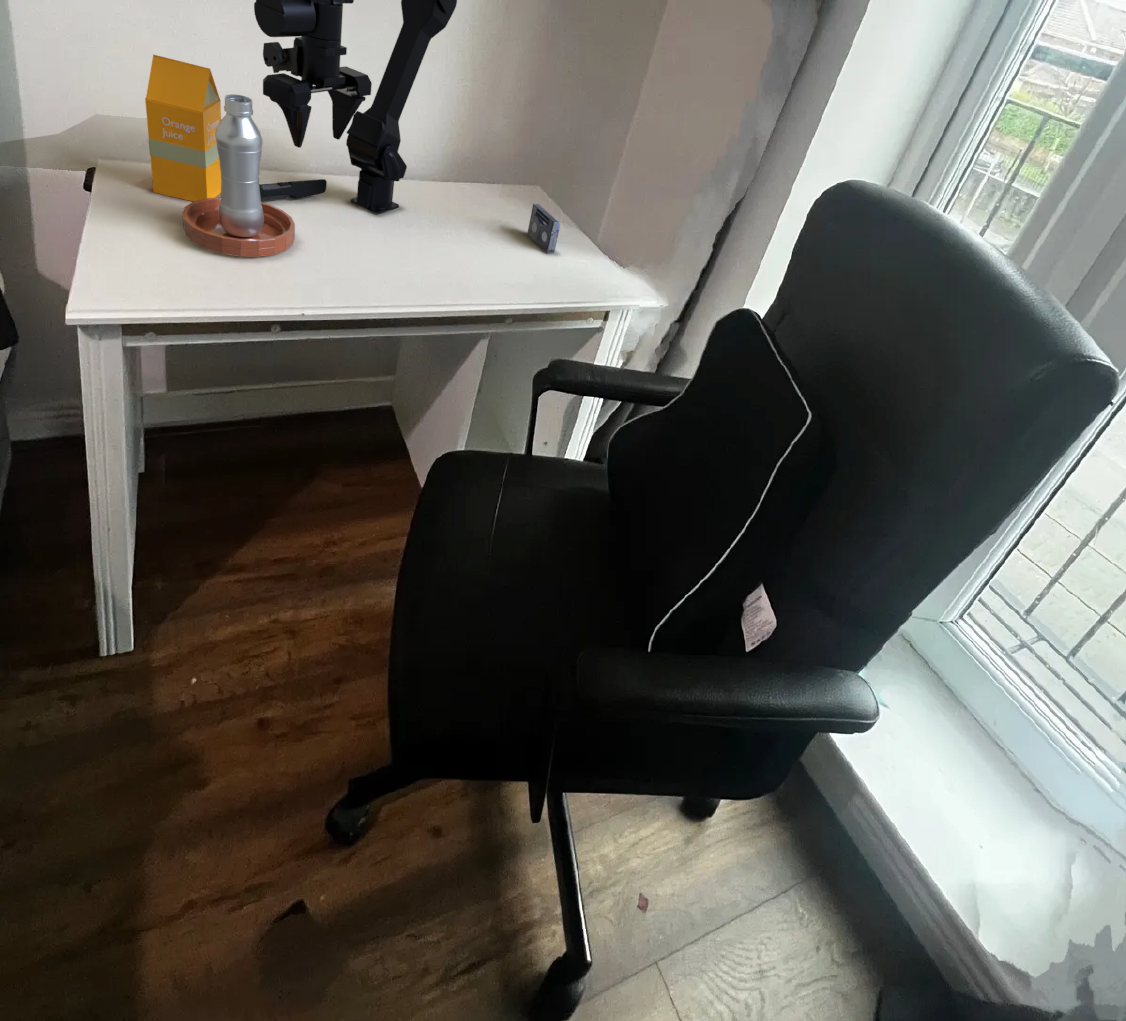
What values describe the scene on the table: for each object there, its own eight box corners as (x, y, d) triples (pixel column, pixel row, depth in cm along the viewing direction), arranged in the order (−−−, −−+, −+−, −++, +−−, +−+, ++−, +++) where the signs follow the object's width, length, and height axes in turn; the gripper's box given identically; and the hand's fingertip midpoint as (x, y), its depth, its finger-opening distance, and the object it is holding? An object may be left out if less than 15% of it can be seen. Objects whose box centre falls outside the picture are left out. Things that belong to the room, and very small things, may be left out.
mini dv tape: (554, 253, 153) (561, 222, 149) (547, 253, 152) (553, 222, 148) (533, 234, 158) (540, 203, 154) (527, 234, 157) (533, 203, 153)
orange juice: (207, 205, 135) (201, 74, 123) (152, 192, 134) (140, 59, 122) (224, 189, 141) (220, 63, 129) (172, 177, 140) (162, 49, 128)
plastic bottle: (271, 240, 130) (271, 106, 117) (229, 243, 126) (225, 105, 113) (253, 223, 133) (251, 91, 121) (211, 226, 129) (205, 90, 116)
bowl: (239, 207, 137) (239, 189, 136) (315, 243, 134) (316, 225, 132) (159, 229, 125) (158, 209, 123) (240, 269, 121) (240, 250, 120)
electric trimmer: (330, 200, 149) (331, 182, 147) (252, 207, 139) (252, 188, 137) (319, 192, 151) (319, 174, 149) (240, 198, 140) (240, 179, 138)
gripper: (321, 16, 131) (317, 118, 141) (233, 20, 117) (235, 133, 127) (377, 38, 129) (369, 141, 138) (293, 44, 115) (291, 158, 124)
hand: (317, 142), depth 132 cm, fingers open, 9 cm apart
